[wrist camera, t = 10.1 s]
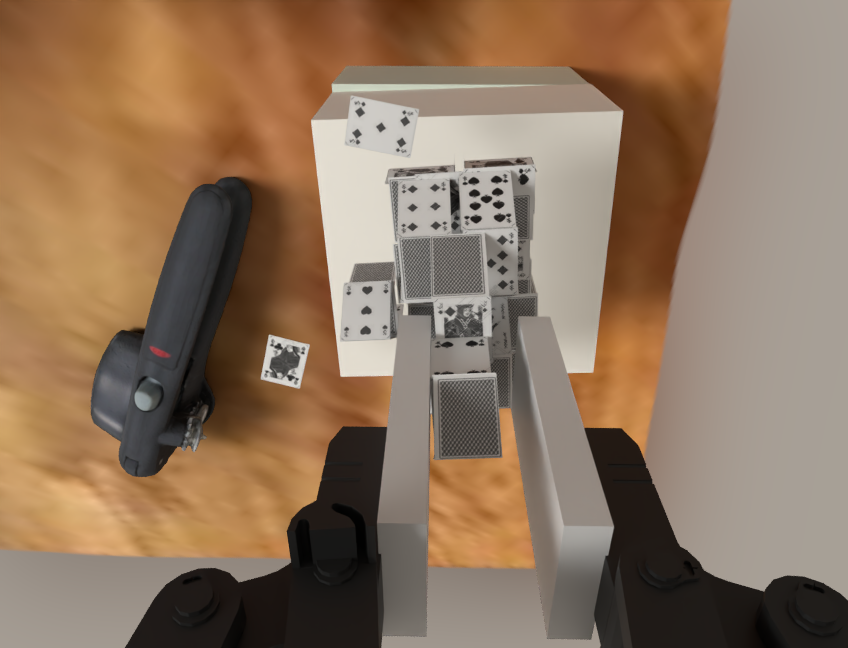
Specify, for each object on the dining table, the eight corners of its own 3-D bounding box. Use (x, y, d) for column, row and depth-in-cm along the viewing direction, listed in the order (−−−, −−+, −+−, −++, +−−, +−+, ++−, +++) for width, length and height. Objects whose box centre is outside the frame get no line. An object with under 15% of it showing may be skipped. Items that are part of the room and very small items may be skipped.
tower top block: (354, 316, 30) (340, 376, 26) (333, 91, 25) (311, 120, 21) (570, 312, 30) (593, 372, 26) (591, 83, 25) (623, 111, 21)
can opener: (205, 444, 41) (174, 511, 36) (94, 403, 39) (46, 467, 34) (309, 201, 33) (286, 245, 28) (174, 139, 31) (126, 173, 26)
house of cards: (195, 105, 17) (28, 213, 10) (537, 82, 16) (600, 179, 9) (264, 390, 21) (180, 593, 15) (532, 379, 21) (573, 585, 14)
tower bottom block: (358, 265, 34) (346, 310, 30) (347, 64, 30) (331, 83, 25) (547, 267, 34) (562, 312, 30) (568, 65, 29) (590, 84, 25)
